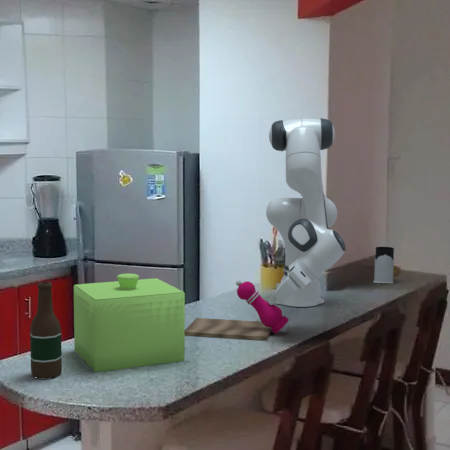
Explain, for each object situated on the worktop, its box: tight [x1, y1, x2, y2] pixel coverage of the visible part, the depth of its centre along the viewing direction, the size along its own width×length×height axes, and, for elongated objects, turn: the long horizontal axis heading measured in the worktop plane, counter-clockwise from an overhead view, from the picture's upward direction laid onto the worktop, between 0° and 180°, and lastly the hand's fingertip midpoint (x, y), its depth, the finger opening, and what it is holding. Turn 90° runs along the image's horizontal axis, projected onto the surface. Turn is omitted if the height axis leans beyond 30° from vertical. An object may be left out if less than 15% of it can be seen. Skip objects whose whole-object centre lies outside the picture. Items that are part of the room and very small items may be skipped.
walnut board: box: [185, 317, 273, 341], centre depth 236 cm, size 26×18×1 cm
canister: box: [73, 273, 186, 373], centre depth 207 cm, size 25×21×23 cm
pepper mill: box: [235, 279, 290, 334], centre depth 233 cm, size 7×7×20 cm
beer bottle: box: [29, 281, 63, 379], centre depth 189 cm, size 8×8×24 cm
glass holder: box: [372, 246, 395, 284], centre depth 318 cm, size 9×14×15 cm, turn 170°
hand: (269, 302), depth 232 cm, fingers closed
